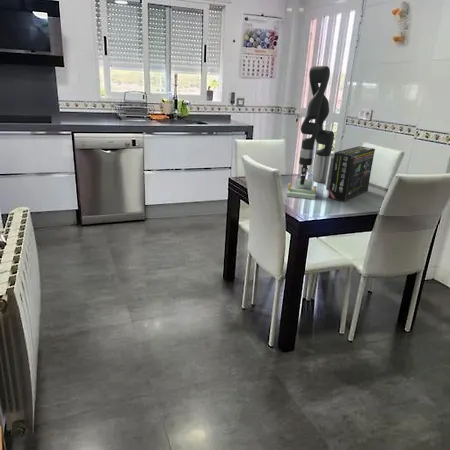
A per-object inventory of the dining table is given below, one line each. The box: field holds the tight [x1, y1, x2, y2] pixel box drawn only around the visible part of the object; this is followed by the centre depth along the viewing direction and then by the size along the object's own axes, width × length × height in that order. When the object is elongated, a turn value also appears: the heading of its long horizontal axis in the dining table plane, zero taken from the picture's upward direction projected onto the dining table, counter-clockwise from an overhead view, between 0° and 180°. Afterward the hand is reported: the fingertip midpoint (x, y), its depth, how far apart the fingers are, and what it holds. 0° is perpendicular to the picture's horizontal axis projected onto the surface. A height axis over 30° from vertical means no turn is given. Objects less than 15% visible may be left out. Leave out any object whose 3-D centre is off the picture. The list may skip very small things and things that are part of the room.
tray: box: [286, 182, 317, 200], centre depth 230 cm, size 11×16×6 cm
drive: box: [293, 178, 313, 191], centre depth 243 cm, size 5×10×6 cm, turn 83°
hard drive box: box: [325, 153, 334, 190], centre depth 250 cm, size 16×8×20 cm, turn 168°
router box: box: [328, 145, 376, 203], centre depth 234 cm, size 36×11×27 cm, turn 141°
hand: (302, 183), depth 242 cm, fingers open, 8 cm apart
